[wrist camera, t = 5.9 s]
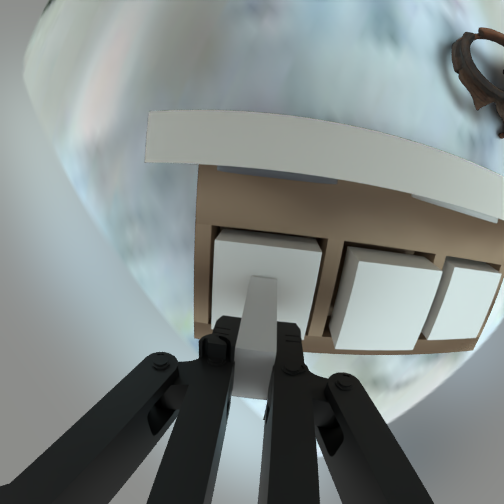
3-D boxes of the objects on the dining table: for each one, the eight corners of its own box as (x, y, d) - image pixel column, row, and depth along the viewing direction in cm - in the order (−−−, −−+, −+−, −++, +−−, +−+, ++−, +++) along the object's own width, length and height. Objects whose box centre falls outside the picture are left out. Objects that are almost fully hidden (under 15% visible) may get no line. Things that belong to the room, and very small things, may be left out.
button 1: (223, 228, 18) (214, 239, 15) (315, 238, 18) (322, 252, 15) (219, 308, 20) (211, 329, 17) (301, 318, 20) (303, 339, 17)
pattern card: (226, 139, 15) (149, 111, 5) (512, 203, 14) (602, 241, 4) (224, 165, 15) (144, 175, 6) (508, 221, 14) (596, 266, 5)
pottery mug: (487, 162, 17) (514, 136, 10) (427, 85, 19) (425, 38, 12) (547, 112, 11) (575, 80, 4) (490, 44, 13) (499, -2, 6)
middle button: (347, 246, 17) (359, 261, 14) (424, 256, 16) (442, 271, 14) (328, 325, 19) (334, 348, 16) (400, 329, 18) (412, 350, 16)
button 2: (436, 254, 18) (454, 267, 15) (484, 261, 17) (501, 273, 15) (414, 321, 19) (427, 340, 17) (462, 322, 19) (476, 337, 17)
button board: (217, 124, 18) (203, 115, 14) (495, 184, 17) (523, 191, 13) (206, 310, 23) (194, 338, 19) (454, 328, 22) (472, 350, 18)
